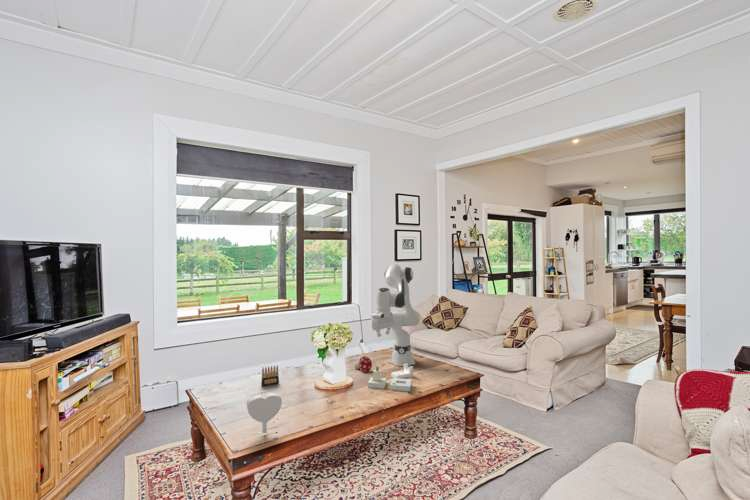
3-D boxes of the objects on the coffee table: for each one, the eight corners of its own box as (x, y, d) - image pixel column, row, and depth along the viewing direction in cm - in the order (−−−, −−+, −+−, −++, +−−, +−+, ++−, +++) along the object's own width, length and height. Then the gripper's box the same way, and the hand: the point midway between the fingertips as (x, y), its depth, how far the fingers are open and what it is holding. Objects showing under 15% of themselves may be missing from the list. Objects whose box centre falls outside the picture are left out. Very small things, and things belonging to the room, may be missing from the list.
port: (392, 384, 240) (392, 377, 240) (411, 385, 238) (411, 378, 238) (389, 391, 229) (390, 383, 229) (409, 393, 226) (409, 385, 226)
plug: (373, 383, 238) (373, 365, 238) (381, 384, 237) (381, 366, 237) (372, 385, 235) (372, 367, 235) (380, 386, 234) (380, 368, 234)
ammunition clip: (261, 386, 235) (261, 367, 235) (261, 385, 237) (261, 366, 237) (279, 383, 240) (279, 365, 240) (278, 382, 242) (278, 364, 242)
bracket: (406, 374, 259) (406, 363, 259) (413, 377, 253) (413, 366, 253) (391, 377, 252) (391, 366, 252) (396, 381, 246) (396, 369, 246)
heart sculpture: (279, 427, 184) (279, 390, 184) (282, 432, 179) (282, 394, 179) (246, 434, 177) (246, 396, 177) (248, 439, 173) (247, 400, 172)
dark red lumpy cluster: (351, 355, 272) (364, 352, 261) (363, 361, 277) (376, 359, 266) (347, 370, 265) (361, 368, 255) (359, 376, 270) (373, 374, 260)
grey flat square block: (371, 383, 242) (371, 376, 242) (386, 384, 240) (386, 378, 240) (367, 388, 232) (367, 382, 232) (383, 390, 230) (383, 383, 230)
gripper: (388, 311, 251) (388, 332, 251) (370, 315, 234) (370, 337, 234) (396, 312, 247) (396, 333, 247) (378, 316, 231) (378, 338, 230)
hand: (383, 335), depth 240 cm, fingers open, 8 cm apart
